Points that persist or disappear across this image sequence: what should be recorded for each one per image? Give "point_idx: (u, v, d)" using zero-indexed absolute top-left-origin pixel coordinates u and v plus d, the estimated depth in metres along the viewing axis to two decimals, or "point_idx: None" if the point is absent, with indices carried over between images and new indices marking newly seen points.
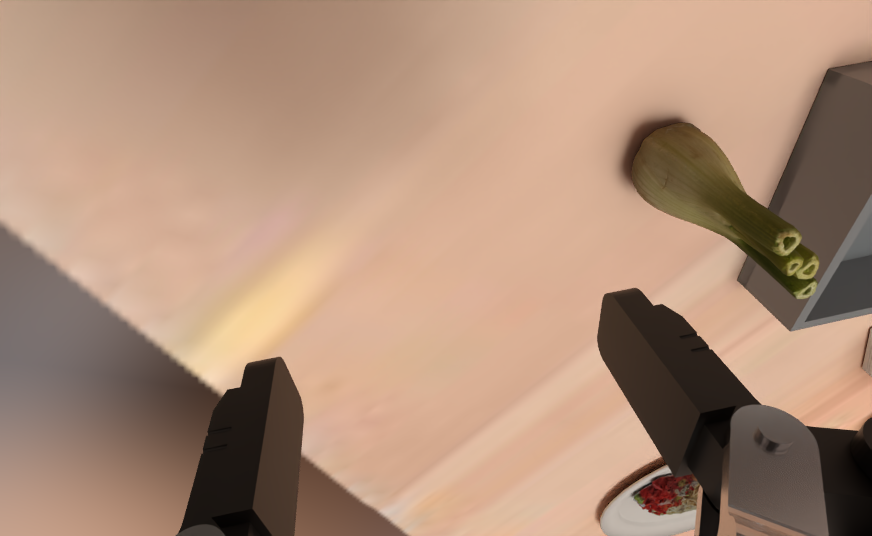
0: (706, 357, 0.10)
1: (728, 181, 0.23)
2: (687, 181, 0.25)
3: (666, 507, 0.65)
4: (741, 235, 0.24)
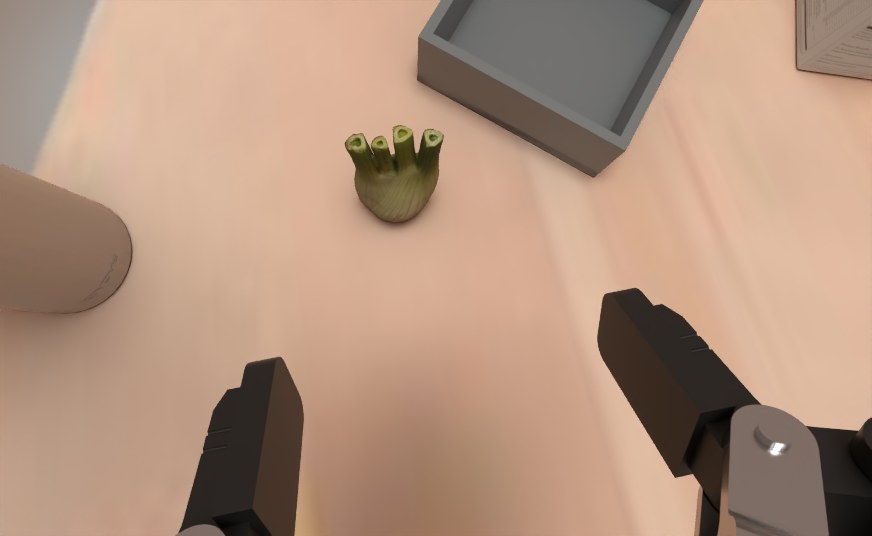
0: (706, 357, 0.10)
1: None
2: (362, 187, 0.33)
3: None
4: (399, 166, 0.30)
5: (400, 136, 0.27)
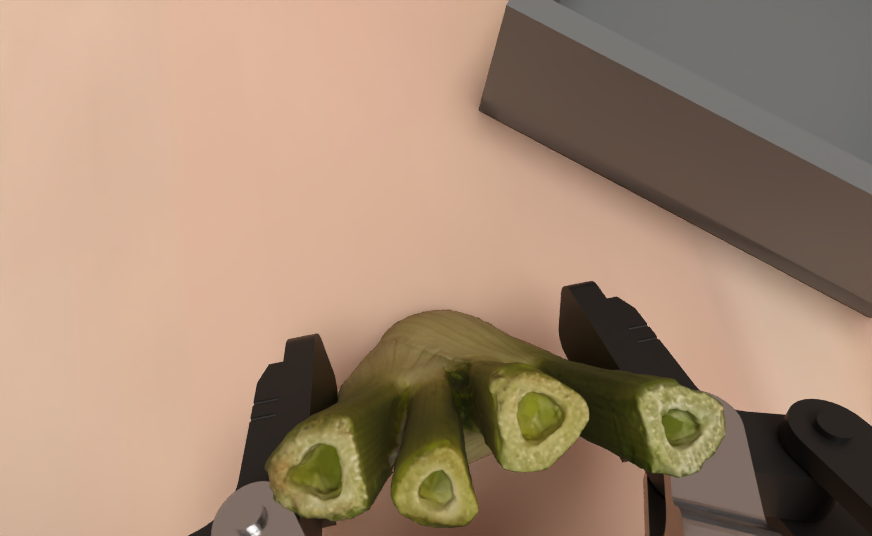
0: (653, 346, 0.10)
1: (351, 391, 0.10)
2: None
3: None
4: None
5: (526, 419, 0.06)
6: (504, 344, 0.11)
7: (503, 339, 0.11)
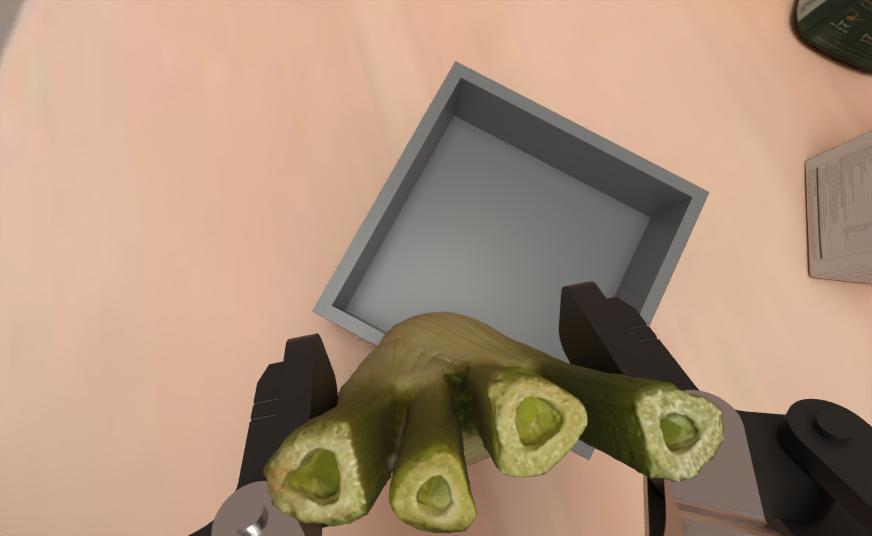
0: (653, 346, 0.10)
1: (350, 394, 0.10)
2: None
3: None
4: None
5: (524, 424, 0.06)
6: (504, 347, 0.11)
7: (502, 341, 0.11)
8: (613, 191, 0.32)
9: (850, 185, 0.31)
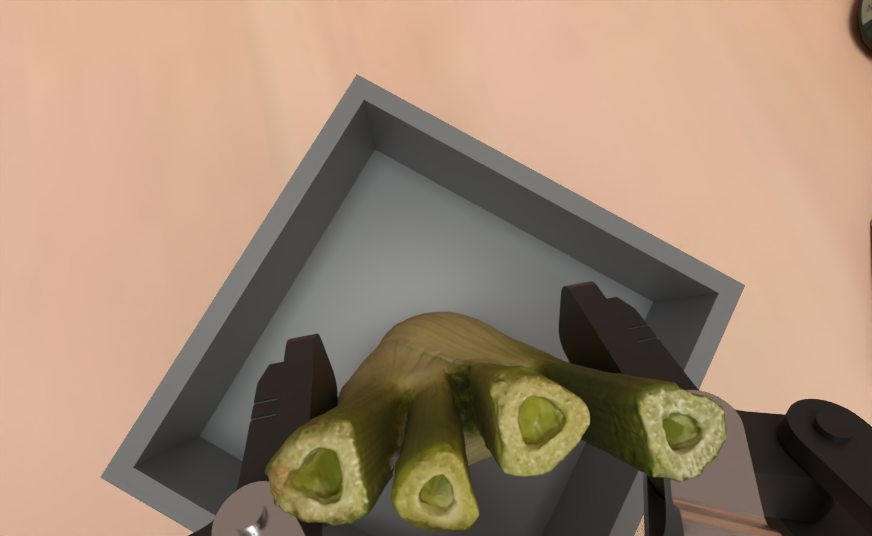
0: (653, 346, 0.10)
1: (351, 393, 0.10)
2: None
3: None
4: None
5: (527, 423, 0.06)
6: (505, 346, 0.11)
7: (503, 341, 0.11)
8: (599, 265, 0.22)
9: None
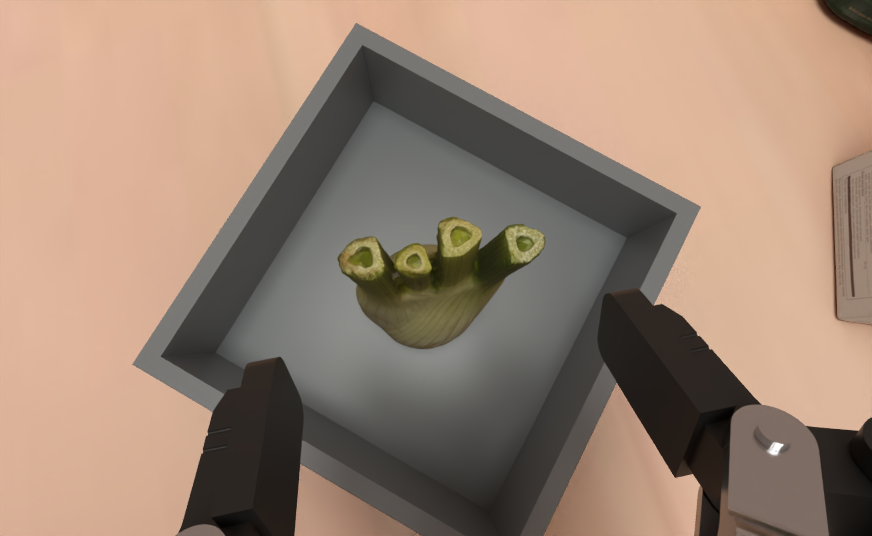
0: (706, 357, 0.10)
1: None
2: (371, 307, 0.18)
3: None
4: (443, 283, 0.16)
5: (455, 240, 0.13)
6: None
7: None
8: (576, 202, 0.24)
9: None
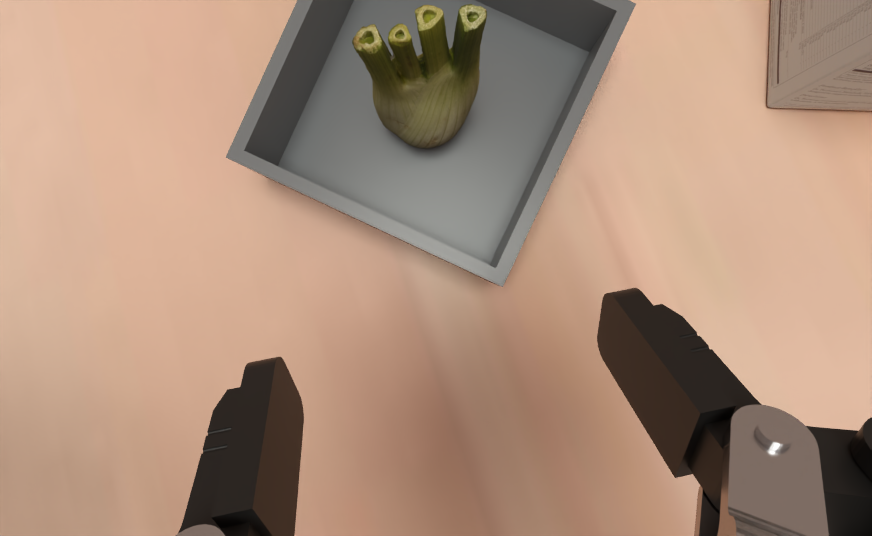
0: (706, 357, 0.10)
1: None
2: (384, 106, 0.26)
3: None
4: (429, 70, 0.23)
5: (426, 21, 0.20)
6: None
7: None
8: (545, 23, 0.30)
9: None
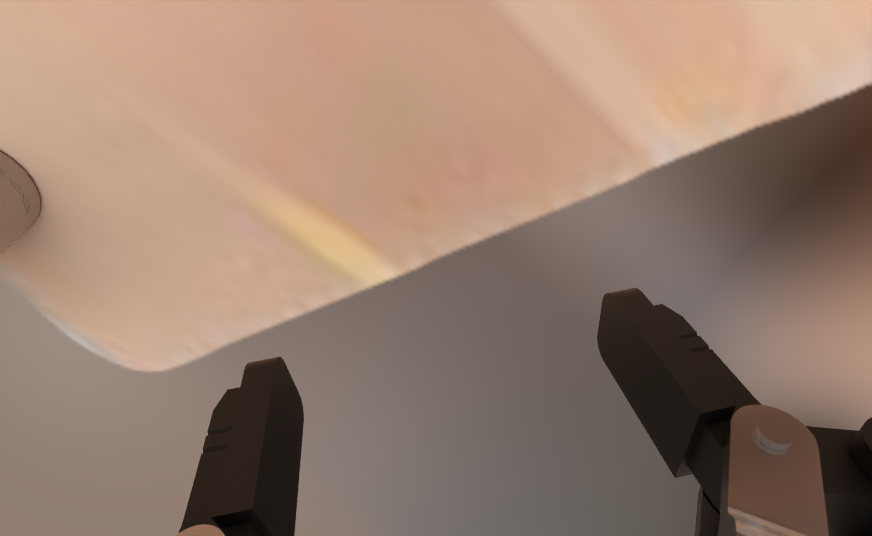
0: (706, 357, 0.10)
1: None
2: None
3: None
4: None
5: None
6: None
7: None
8: None
9: None
